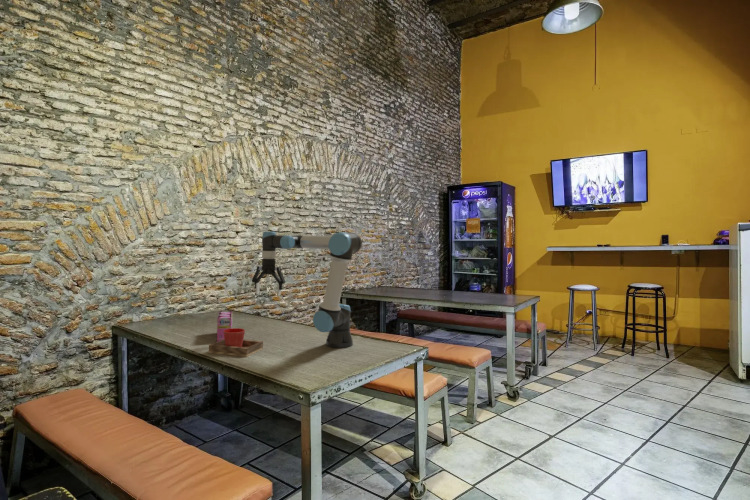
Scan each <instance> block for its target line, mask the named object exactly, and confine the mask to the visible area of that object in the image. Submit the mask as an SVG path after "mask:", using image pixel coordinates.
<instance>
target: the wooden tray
mask: <svg viewBox="0 0 750 500" xmlns="http://www.w3.org/2000/svg"><path fill="white" fill-rule="evenodd" d="M263 349H264V341H263V340H254V339H253V340H252V339H243V343H242V347H234V346H226V345H225V339H223V340H221V341H218V342H217V341H216V342H214V343H210V344H209V345H208V353H209V354H216V355H217V354H218V355H225V356H237V357H246V358H247V357H249V356H252V355H253V354H255V353H257V352H259V351H261V350H263Z"/></svg>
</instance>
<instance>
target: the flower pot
mask: <svg viewBox="0 0 750 500" xmlns="http://www.w3.org/2000/svg"><path fill="white" fill-rule="evenodd" d="M223 332H224V339H225V345H226V346H234V347H242V343H243V340H244V338H245V334H246V333H245V332H246V330H245V329H244V328H238V327H237V328H236V327H235V328H233V327H232V328H231V329H226V330H224V331H223Z"/></svg>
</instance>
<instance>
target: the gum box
mask: <svg viewBox="0 0 750 500" xmlns="http://www.w3.org/2000/svg"><path fill="white" fill-rule="evenodd" d="M216 320H217V321H216V323H217V326H216V328H217V329H216V342H218V341H221V340H223V339H224V332H223V331H224V330H226V329H231V328H233V311H232V310H229V311H222V310H220V311H218V315H217V319H216Z"/></svg>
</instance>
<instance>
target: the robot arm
mask: <svg viewBox="0 0 750 500" xmlns="http://www.w3.org/2000/svg"><path fill="white" fill-rule="evenodd" d="M262 232H263V233H262V236H261V239H262V240H261V242H262V243H261V245H262V246H261V247H262V250H261V251H262V252H261V265H257V266H256V270H255V273H254V275H253V276H252V278H251V282H252V283H254V289H255V295H259V294H260V287H261V286H260V281H261V280H262V278H263V277H264V276H265V275H272V277H273V278H274V279H275V280H276V281H275V282H277V283H278V284H277V292H276V294H277V295H276V296H277V297H279V296H280V297H281V294H282V293H281V292H282V291H281V290H282V289H283V284H285V283H286V280H285V278H284V274H283V273H282V269H281V266H277V267H276V251H277V250H276V249H284V250H290V249H309V250H310V249H312V250H313V249H315V250H329V252H330V253H329V257H330V258H331V262H330V267H329V273H328V276H327V277H328V278H327V280H326V287H325V290H324V296H323V300H322V302H321V303H319V307H318V310H317V311H316V312H315V313H314V314H313V316H312V323H313V325H314V328H316V331H319V332H320V333H328V334H327V338H326V341H325V344H326V346H327V347H330V348H336V349H337V348H338V349H339V348H340V349H341V348H350V347H352V346H353V345H354V341H353V337H352V333H351V313H352V310H351V306H350V305H349V304H343V303H341V302H340V300H341V295H342V292H343V287H344V282H345V277H346V273H347V268H348V263H349V262H350V261H351V260H353V259H352V258H353V255H354V254H356V253H358V252H359V251H360V250H361V248H362V245H363V242H362V238H361V236H360V235H358V234H357V233H355V232H345V231H340V232H336V233H334V234H333V235H301V234H300V235H297V234H296V235H289V234H288V235H287V234H284V235H283V234H281V235H279V234H277V233H276V231H262ZM260 272H261V273H260Z"/></svg>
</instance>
